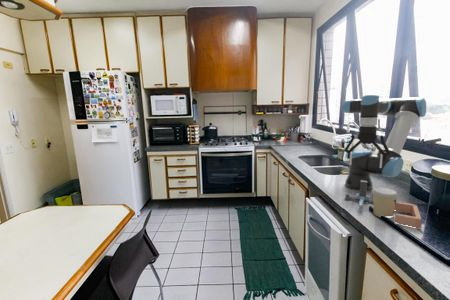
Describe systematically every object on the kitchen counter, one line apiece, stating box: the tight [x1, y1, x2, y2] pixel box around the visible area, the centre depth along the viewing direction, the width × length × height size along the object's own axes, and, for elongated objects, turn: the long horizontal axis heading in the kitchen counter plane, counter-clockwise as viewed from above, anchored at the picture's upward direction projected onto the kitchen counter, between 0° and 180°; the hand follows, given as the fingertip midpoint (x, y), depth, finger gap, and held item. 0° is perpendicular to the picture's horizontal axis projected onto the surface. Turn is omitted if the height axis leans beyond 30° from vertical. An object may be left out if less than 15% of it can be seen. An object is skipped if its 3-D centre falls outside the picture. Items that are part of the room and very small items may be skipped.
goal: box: [394, 201, 422, 229], centre depth 102 cm, size 16×9×4 cm, turn 146°
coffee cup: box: [372, 187, 399, 218], centre depth 106 cm, size 9×9×12 cm
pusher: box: [355, 180, 370, 214], centre depth 115 cm, size 18×6×11 cm, turn 146°
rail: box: [344, 192, 406, 205], centre depth 119 cm, size 2×26×3 cm, turn 56°
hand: (364, 166), depth 119 cm, fingers open, 13 cm apart
